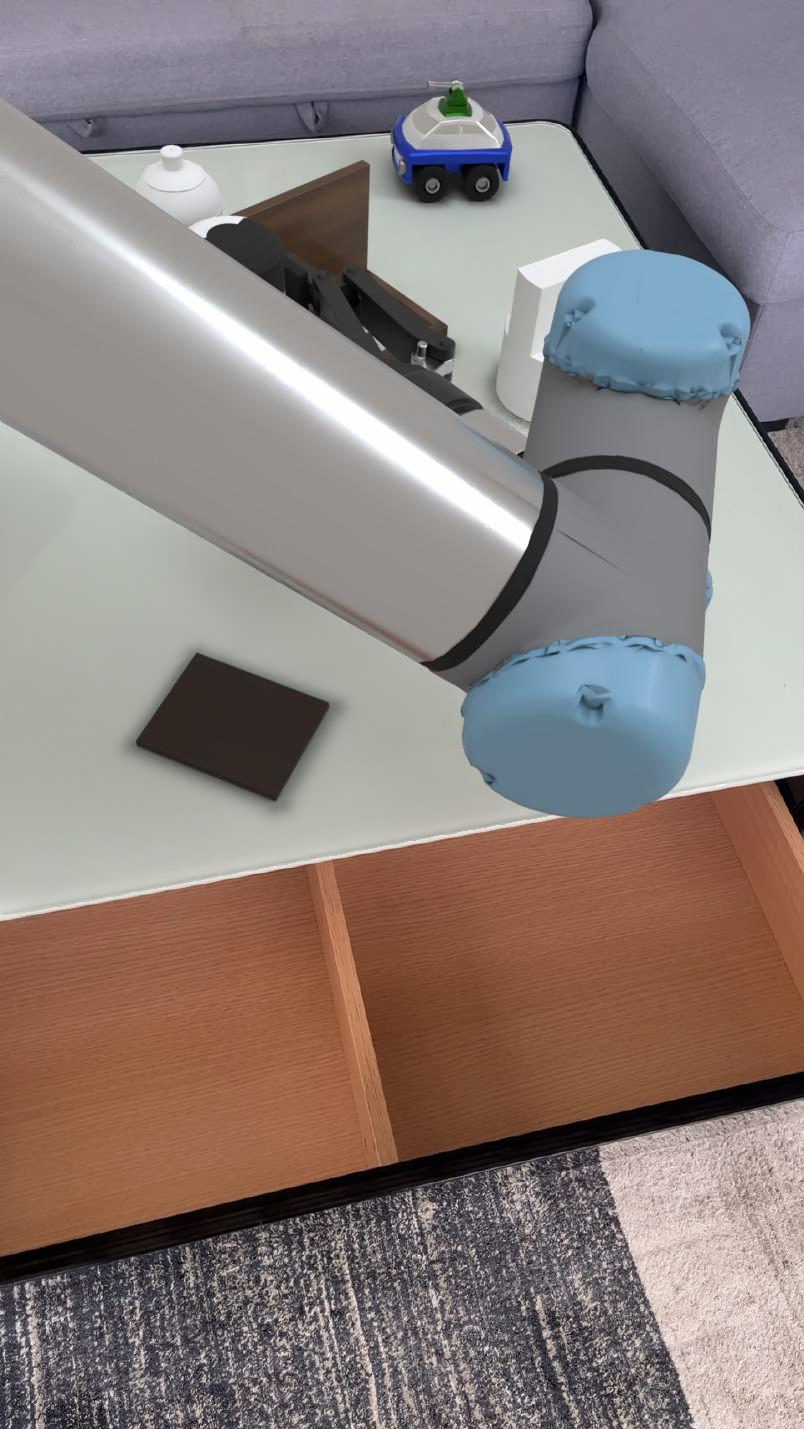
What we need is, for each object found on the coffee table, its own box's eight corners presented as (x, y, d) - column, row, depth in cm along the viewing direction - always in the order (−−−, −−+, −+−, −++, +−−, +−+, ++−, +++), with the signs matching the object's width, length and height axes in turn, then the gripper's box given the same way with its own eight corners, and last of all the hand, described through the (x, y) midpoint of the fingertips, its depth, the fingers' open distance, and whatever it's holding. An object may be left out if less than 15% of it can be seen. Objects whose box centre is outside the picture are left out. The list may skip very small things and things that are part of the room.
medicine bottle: (321, 411, 69) (319, 240, 60) (236, 461, 66) (219, 289, 57) (250, 359, 72) (237, 187, 62) (165, 404, 69) (137, 231, 59)
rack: (445, 350, 94) (459, 221, 84) (264, 447, 85) (255, 317, 76) (359, 288, 98) (362, 159, 88) (179, 375, 90) (160, 243, 80)
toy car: (385, 156, 112) (389, 59, 104) (496, 153, 113) (508, 58, 106) (397, 204, 107) (402, 107, 99) (514, 201, 108) (528, 104, 100)
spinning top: (232, 257, 100) (220, 127, 90) (227, 307, 96) (214, 176, 86) (149, 255, 100) (129, 124, 90) (141, 305, 95) (118, 173, 85)
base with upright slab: (538, 439, 88) (564, 311, 78) (474, 378, 92) (491, 249, 82) (621, 403, 91) (656, 276, 81) (556, 346, 95) (582, 218, 85)
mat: (136, 745, 69) (135, 740, 68) (197, 657, 73) (196, 652, 73) (275, 801, 67) (275, 796, 66) (329, 707, 71) (329, 702, 71)
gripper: (298, 609, 55) (54, 386, 64) (560, 441, 63) (312, 265, 72) (293, 502, 49) (24, 273, 58) (584, 333, 57) (310, 155, 66)
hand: (185, 269), depth 65 cm, fingers closed on medicine bottle, 7 cm apart
